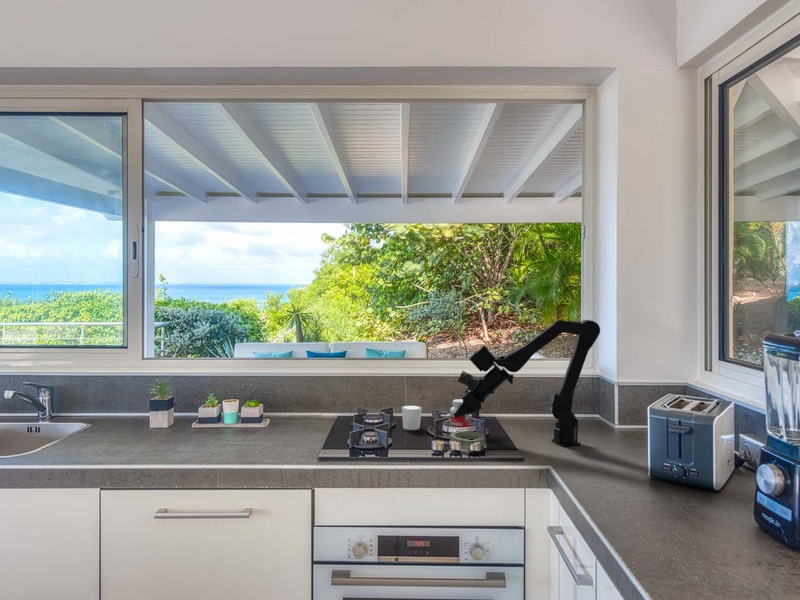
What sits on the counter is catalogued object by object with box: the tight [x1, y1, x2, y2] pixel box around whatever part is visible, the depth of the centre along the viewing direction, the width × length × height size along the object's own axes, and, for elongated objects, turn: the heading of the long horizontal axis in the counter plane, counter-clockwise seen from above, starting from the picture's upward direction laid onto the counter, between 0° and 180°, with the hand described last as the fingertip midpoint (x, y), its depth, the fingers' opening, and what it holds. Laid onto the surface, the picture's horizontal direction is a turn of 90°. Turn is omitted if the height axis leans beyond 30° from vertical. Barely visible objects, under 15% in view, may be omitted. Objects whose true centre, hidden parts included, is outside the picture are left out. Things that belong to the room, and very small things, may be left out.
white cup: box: [401, 404, 423, 431], centre depth 169 cm, size 7×7×7 cm
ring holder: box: [449, 430, 487, 452], centre depth 148 cm, size 11×11×4 cm
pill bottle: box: [449, 398, 470, 427], centre depth 162 cm, size 6×6×11 cm
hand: (455, 414), depth 162 cm, fingers closed on pill bottle, 6 cm apart
